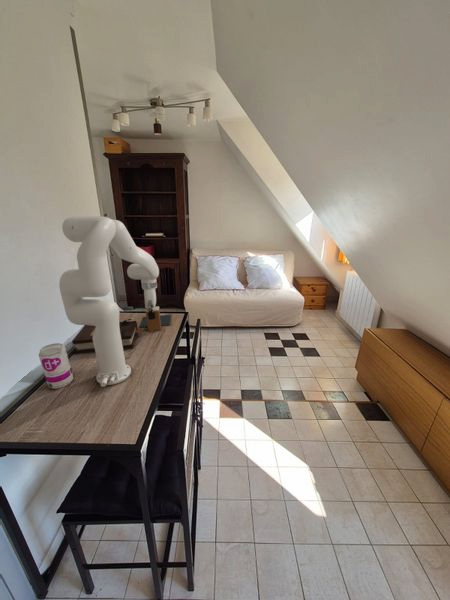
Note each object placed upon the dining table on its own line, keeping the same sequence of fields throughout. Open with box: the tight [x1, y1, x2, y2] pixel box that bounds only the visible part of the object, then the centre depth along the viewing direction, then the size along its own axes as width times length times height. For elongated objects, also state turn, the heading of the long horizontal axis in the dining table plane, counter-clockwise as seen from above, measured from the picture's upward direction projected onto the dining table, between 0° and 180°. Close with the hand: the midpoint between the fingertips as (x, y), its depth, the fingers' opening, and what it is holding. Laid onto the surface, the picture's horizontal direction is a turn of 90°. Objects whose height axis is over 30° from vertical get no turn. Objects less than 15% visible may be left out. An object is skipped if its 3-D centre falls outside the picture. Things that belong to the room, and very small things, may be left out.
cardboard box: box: [145, 305, 162, 332], centre depth 135 cm, size 5×7×12 cm
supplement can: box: [38, 342, 74, 390], centre depth 92 cm, size 8×8×15 cm
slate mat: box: [139, 314, 171, 329], centre depth 146 cm, size 14×16×1 cm
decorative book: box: [71, 318, 142, 355], centre depth 122 cm, size 19×8×30 cm
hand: (153, 315), depth 134 cm, fingers open, 9 cm apart
